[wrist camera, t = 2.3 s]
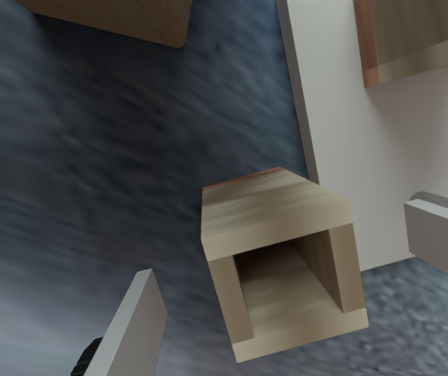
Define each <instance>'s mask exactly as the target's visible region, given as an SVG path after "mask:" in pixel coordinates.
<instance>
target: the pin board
mask: <svg viewBox="0 0 448 376" xmlns="http://www.w3.org/2000/svg"><path fill="white" fill-rule="evenodd" d="M275 1H276V6H277V12H278V17H279V22H280V28H281V33H282V38H283V44H284V49H285V55H286V60H287V65H288V71H289V76H290V81H291V87H292V92H293V97H294V103H295V108H296V113H297V119H298V124H299V129H300V135H301V140H302V145H303V151H304V156H305V161H306V167H307V172H308V177H309V181H311V182H314V183H316V184H318V185H320V186H322V187H324V188H326V189H328V190H330V191H333V192H335V193H337V194H339V195H341V196H343V197H345V198H347V199H349V202H350V209H351V215H352V222H353V228H354V234H355V241H356V247H357V254H358V260H359V267H360V271H364V270H368V269H371V268H375V267H379V266H382V265H386V264H390V263H393V262H397V261H401V260H404V259H408V258H412V257H415V256H416V255H414V254H412V253H411V252H409V246H408V237H407V229H406V220H405V211H404V202H408V201H412V200H416V199H420V200H423V201H427V202H430V203H433V204H436V205H439V206H442V207H445V208H448V66H447V67H443V68H439V69H435V70H432V71H428V72H424V73H420V74H416V75H412V76H409V77H405V78H401V79H397V80H393V81H389V82H386V83H382V84H378V85H374V86H370V87H366V88H364V82H363V75H362V67H361V59H360V52H359V44H358V36H357V29H356V21H355V13H354V6H353V0H275Z"/></svg>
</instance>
